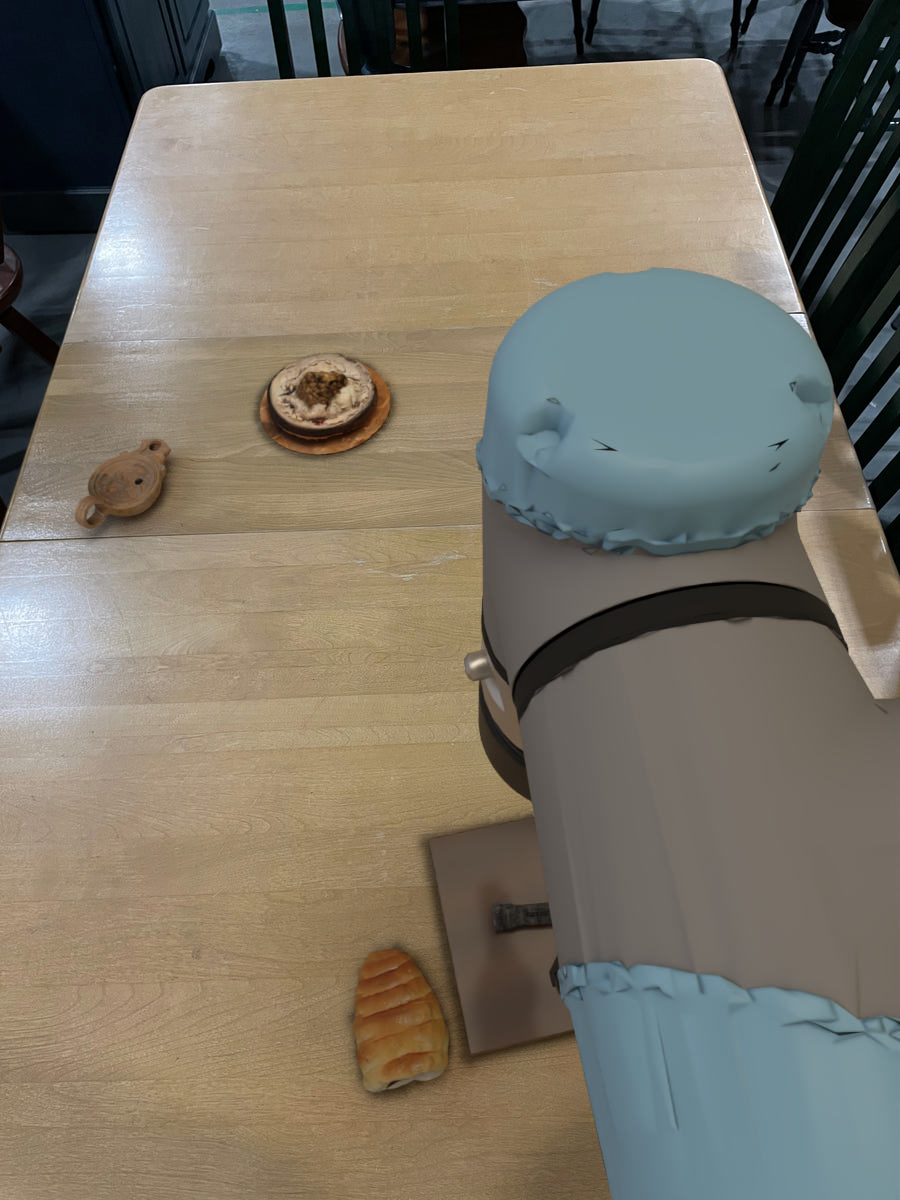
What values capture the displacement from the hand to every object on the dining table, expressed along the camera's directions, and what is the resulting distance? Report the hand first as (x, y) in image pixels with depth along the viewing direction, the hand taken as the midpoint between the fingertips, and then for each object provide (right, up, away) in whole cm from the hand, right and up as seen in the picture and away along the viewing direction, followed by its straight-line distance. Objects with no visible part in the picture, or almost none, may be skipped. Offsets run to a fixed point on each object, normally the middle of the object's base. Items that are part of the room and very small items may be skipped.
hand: (541, 848), depth 49 cm
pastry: (-9, -18, +15) cm, 25 cm away
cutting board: (+6, -10, +19) cm, 23 cm away
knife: (+7, -10, +18) cm, 22 cm away
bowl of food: (-20, +37, +49) cm, 64 cm away
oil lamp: (-39, +25, +43) cm, 63 cm away
